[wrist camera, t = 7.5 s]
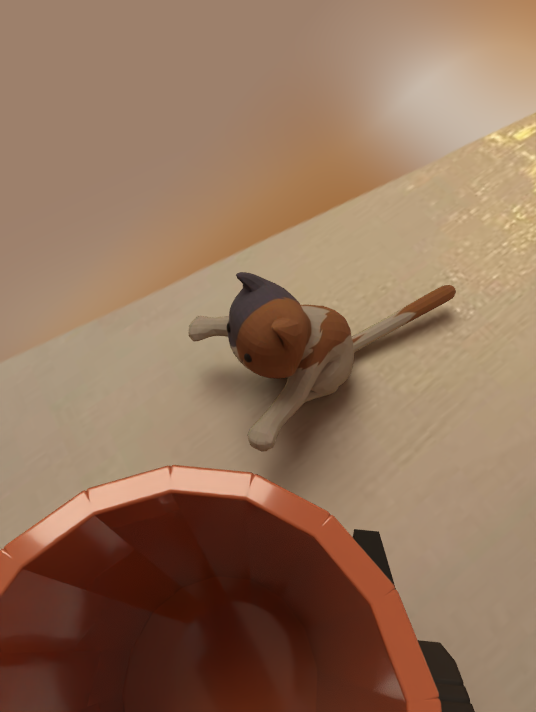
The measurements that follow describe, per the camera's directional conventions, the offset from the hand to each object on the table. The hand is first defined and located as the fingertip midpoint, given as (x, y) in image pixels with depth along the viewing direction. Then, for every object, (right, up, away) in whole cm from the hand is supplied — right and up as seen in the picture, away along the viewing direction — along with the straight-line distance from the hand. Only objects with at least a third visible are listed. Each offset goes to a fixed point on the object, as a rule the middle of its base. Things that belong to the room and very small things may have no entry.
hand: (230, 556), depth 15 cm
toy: (+5, +6, +12) cm, 15 cm away
